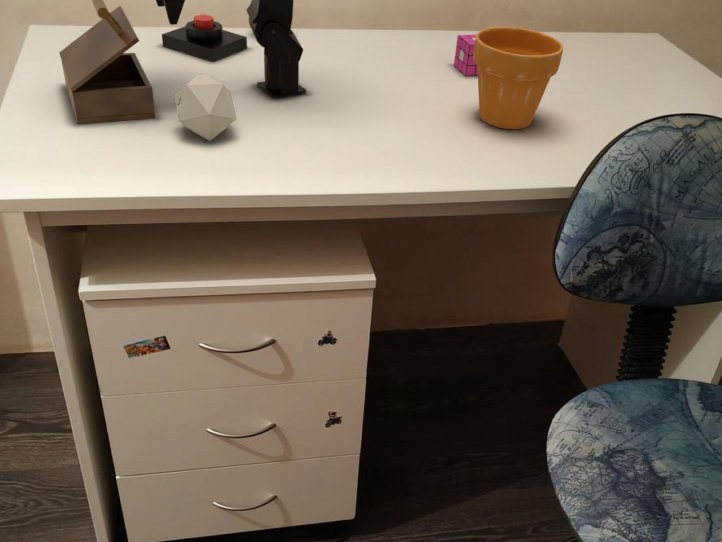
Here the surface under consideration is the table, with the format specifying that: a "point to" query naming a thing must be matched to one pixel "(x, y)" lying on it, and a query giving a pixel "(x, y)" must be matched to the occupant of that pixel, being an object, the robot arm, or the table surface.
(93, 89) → the compartment
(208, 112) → the die
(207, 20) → the release button
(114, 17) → the lid
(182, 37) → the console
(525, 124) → the flower pot
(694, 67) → the table surface
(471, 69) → the puzzle toy
